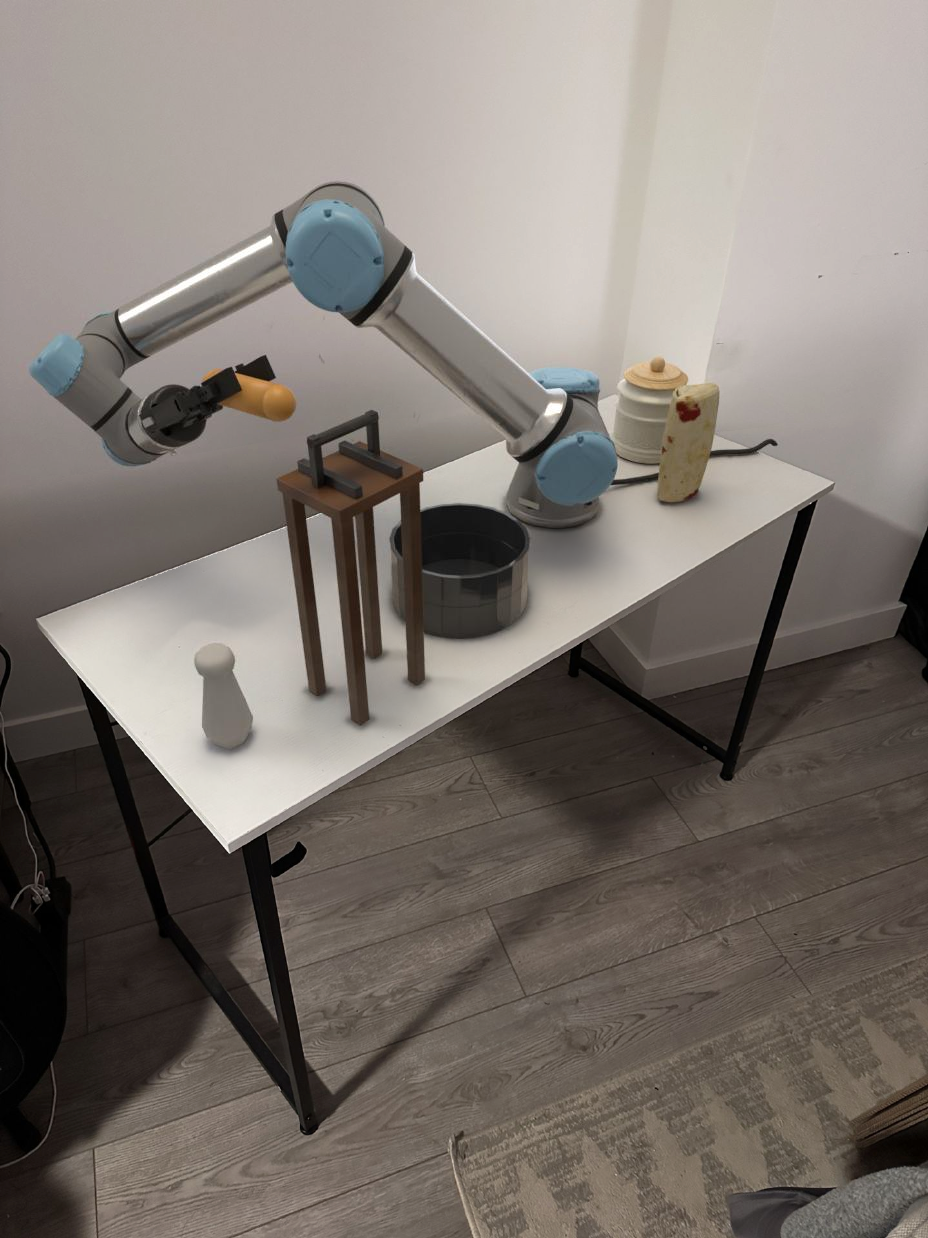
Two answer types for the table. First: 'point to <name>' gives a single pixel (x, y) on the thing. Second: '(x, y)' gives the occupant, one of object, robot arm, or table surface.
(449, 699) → the table surface
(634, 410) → the jar
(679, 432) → the food model
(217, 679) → the salt shaker
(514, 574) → the pot
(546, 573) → the table surface
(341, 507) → the shelf stand
